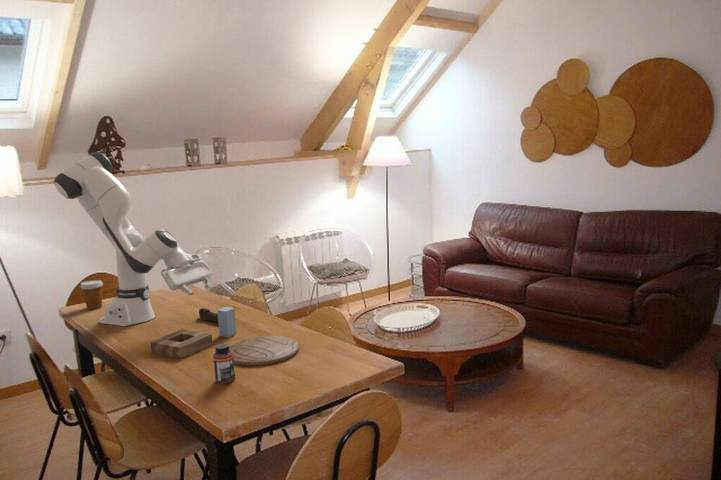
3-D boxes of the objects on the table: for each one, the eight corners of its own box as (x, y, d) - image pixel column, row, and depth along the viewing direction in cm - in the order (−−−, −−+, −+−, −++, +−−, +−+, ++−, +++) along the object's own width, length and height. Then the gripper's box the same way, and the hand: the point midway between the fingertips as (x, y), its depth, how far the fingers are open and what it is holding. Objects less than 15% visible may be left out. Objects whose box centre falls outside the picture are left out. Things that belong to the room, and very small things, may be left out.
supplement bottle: (217, 377, 184) (213, 342, 182) (236, 375, 185) (233, 341, 183) (214, 385, 178) (210, 349, 176) (234, 383, 179) (230, 348, 177)
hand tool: (232, 324, 237) (231, 313, 236) (224, 327, 234) (223, 315, 234) (205, 316, 250) (204, 305, 249) (197, 319, 247) (196, 308, 246)
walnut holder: (151, 352, 209) (150, 341, 208) (183, 339, 222) (182, 328, 221) (181, 358, 202) (180, 347, 201) (212, 344, 214) (211, 333, 214)
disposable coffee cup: (100, 310, 266) (96, 284, 264) (79, 311, 266) (75, 285, 264) (109, 304, 276) (106, 279, 273) (89, 305, 276) (85, 280, 274)
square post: (219, 335, 224) (217, 310, 222) (227, 331, 227) (225, 306, 226) (228, 337, 221) (226, 311, 220) (236, 333, 225) (234, 308, 223)
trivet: (262, 336, 221) (262, 331, 221) (313, 347, 207) (313, 342, 206) (210, 358, 201) (209, 353, 201) (263, 373, 187) (262, 367, 187)
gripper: (162, 265, 220) (183, 293, 217) (202, 254, 237) (222, 279, 234) (155, 275, 223) (176, 303, 220) (195, 264, 240) (215, 289, 237)
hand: (200, 291), depth 227 cm, fingers open, 8 cm apart
